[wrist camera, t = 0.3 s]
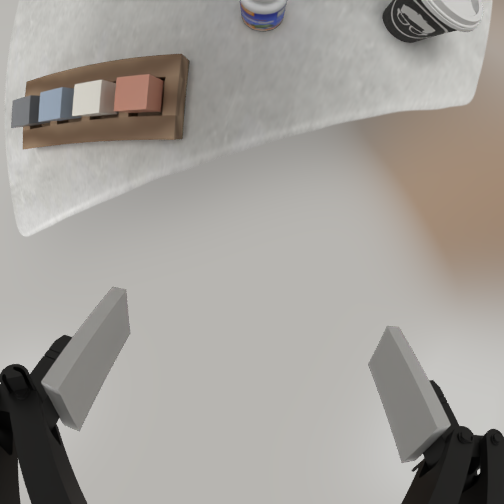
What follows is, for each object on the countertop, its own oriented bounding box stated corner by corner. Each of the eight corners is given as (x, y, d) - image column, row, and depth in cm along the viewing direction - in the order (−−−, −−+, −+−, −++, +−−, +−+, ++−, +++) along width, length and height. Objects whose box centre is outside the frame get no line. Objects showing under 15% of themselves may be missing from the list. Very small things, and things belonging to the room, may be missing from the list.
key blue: (61, 94, 29) (40, 92, 25) (83, 89, 29) (62, 87, 25) (60, 120, 31) (38, 122, 26) (81, 117, 31) (60, 118, 26)
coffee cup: (435, 54, 29) (498, 36, 15) (381, 49, 30) (436, 18, 16) (419, 2, 25) (471, -30, 11) (365, -6, 26) (407, -52, 12)
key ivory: (95, 88, 29) (74, 84, 25) (120, 84, 30) (101, 79, 25) (92, 116, 31) (72, 116, 26) (118, 113, 31) (98, 112, 26)
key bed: (41, 83, 31) (26, 81, 28) (189, 61, 32) (181, 53, 28) (38, 146, 36) (22, 149, 32) (182, 138, 36) (173, 139, 32)
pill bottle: (236, 25, 29) (228, -5, 20) (250, -4, 27) (247, -38, 18) (275, 37, 30) (280, 9, 21) (288, 7, 28) (296, -25, 19)
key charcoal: (34, 100, 29) (12, 100, 25) (52, 96, 29) (30, 95, 25) (32, 125, 31) (11, 128, 26) (50, 122, 31) (28, 124, 26)
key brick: (134, 83, 30) (116, 77, 25) (163, 81, 30) (149, 74, 25) (131, 113, 31) (113, 111, 26) (161, 111, 31) (146, 109, 27)
